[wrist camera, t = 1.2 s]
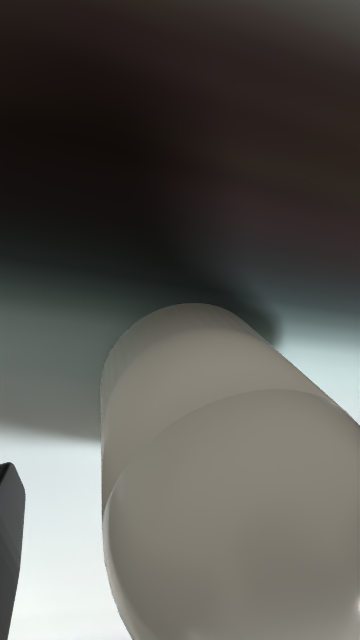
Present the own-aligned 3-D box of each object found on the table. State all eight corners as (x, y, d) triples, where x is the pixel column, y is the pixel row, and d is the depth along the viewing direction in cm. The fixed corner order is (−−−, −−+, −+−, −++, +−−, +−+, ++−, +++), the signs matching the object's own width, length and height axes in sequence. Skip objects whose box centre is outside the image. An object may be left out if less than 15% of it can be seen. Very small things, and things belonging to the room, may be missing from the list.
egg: (267, 426, 11) (476, 717, 5) (121, 468, 11) (153, 871, 4) (259, 286, 9) (582, 476, 3) (80, 325, 9) (32, 674, 2)
